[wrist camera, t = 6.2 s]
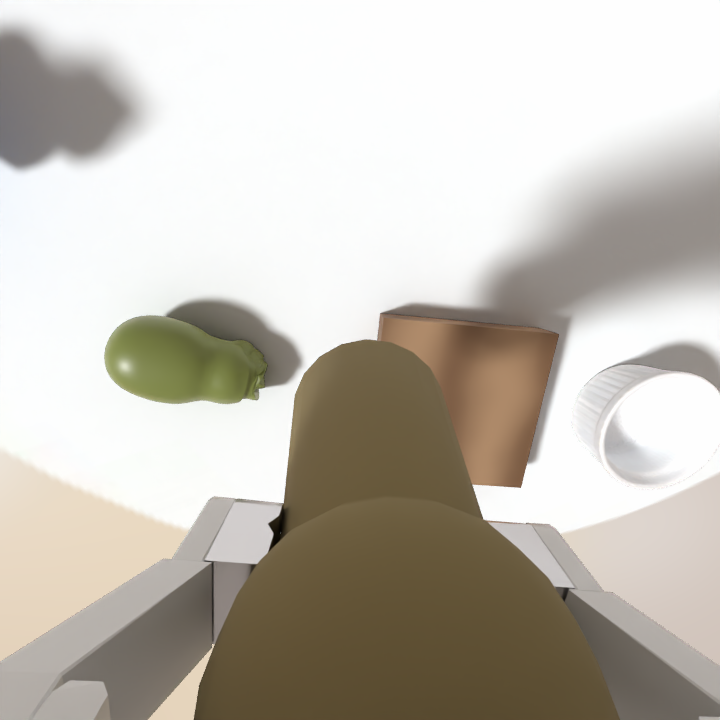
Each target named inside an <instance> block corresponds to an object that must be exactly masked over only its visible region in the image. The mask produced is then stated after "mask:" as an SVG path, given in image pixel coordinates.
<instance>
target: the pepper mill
mask: <svg viewBox="0 0 720 720" xmlns="http://www.w3.org/2000/svg"><path fill="white" fill-rule="evenodd" d="M194 720H620V718H619V715H618V713H617V710H616V707H615V705H614V702H613V700H612V697H611V694H610V692H609V689H608V686H607V684H606V681H605V679H604V676H603V673H602V671H601V668H600V666H599V663H598V661H597V659H596V658H595V656H594V654H593V652H592V650H591V648H590V646H589V644H588V642H587V640H586V638H585V636H584V635H583V633H582V631H581V629H580V627H579V625H578V623H577V621H576V620H575V618H574V617H573V615H572V613H571V612H570V610H569V609H568V607H567V606H566V604H565V603H564V601H563V600H562V598H561V596H560V595H559V593H558V592H557V590H556V589H555V587H554V586H553V584H552V583H551V581H550V579H549V578H548V577H547V576H546V575H545V574H544V573H543V572H542V571H541V570H540V569H539V568H538V567H537V566H536V565H535V564H534V563H533V562H532V561H531V560H530V559H529V558H528V557H527V556H526V555H525V554H524V553H523V552H522V551H521V550H520V549H519V548H518V547H517V546H515V545H514V544H513V543H512V542H511V541H509V540H508V539H507V538H506V537H504V536H503V535H502V534H501V533H500V532H498V531H497V530H496V529H495V528H494V527H492V526H491V525H490V524H489V523H488V522H486V521H485V520H483V517H482V514H481V511H480V508H479V505H478V502H477V498H476V495H475V492H474V489H473V486H472V483H471V480H470V477H469V474H468V470H467V467H466V464H465V461H464V458H463V455H462V452H461V449H460V445H459V442H458V439H457V436H456V433H455V430H454V427H453V424H452V421H451V417H450V414H449V411H448V408H447V405H446V402H445V399H444V396H443V393H442V389H441V387H440V385H439V383H438V381H437V379H436V378H435V376H434V374H433V372H432V370H431V368H430V367H429V366H428V365H427V364H426V363H424V362H423V361H422V360H421V359H420V358H419V357H418V356H417V355H416V354H415V353H414V352H412V351H410V350H407V349H405V348H403V347H401V346H398V345H396V344H394V343H392V342H385V341H376V340H361V341H356V342H351V343H346V344H341V345H340V346H338V347H336V348H334V349H332V350H331V351H329V352H327V353H325V354H324V355H322V356H320V357H319V358H318V359H317V360H316V361H315V363H314V364H313V365H312V366H311V367H310V368H309V369H308V370H307V371H306V372H305V373H304V375H303V378H302V380H301V382H300V384H299V387H298V389H297V391H296V394H295V400H294V409H293V419H292V429H291V439H290V448H289V458H288V468H287V477H286V487H285V497H284V515H283V520H282V526H281V536H280V541H279V542H278V543H277V544H276V545H275V546H274V547H273V548H272V549H271V550H270V551H269V552H268V553H267V554H266V555H265V556H264V557H263V558H262V559H261V560H260V561H259V562H258V564H257V565H256V567H255V568H254V570H253V571H252V573H251V574H250V576H249V577H248V579H247V580H246V582H245V583H244V585H243V586H242V588H241V589H240V591H239V592H238V594H237V596H236V598H235V600H234V602H233V604H232V607H231V609H230V611H229V613H228V615H227V618H226V620H225V622H224V624H223V626H222V629H221V631H220V633H219V635H218V638H217V640H216V643H215V646H214V648H213V651H212V653H211V656H210V659H209V661H208V664H207V666H206V669H205V672H204V674H203V677H202V680H201V682H200V685H199V690H198V696H197V703H196V710H195V715H194Z"/></svg>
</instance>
